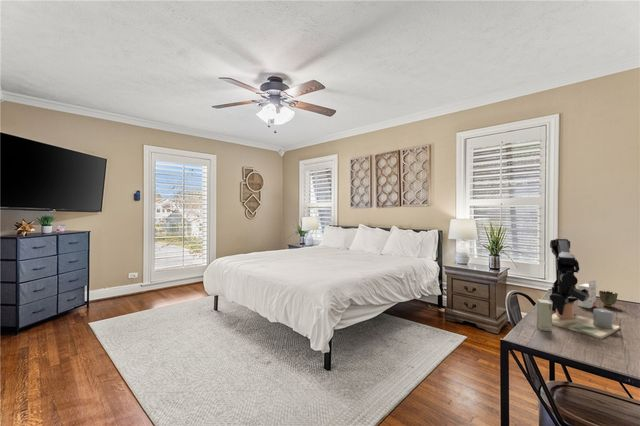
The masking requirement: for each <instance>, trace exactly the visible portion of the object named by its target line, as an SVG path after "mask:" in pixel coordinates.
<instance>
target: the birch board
mask: <svg viewBox="0 0 640 426" xmlns="http://www.w3.org/2000/svg"><path fill="white" fill-rule="evenodd" d="M552 325H553V326H556V327H560V328H564V329H566V330H570V331H573V332H577V333H580V334H584V335H587V336H589V337H594V338H597V339H600V340H604V339H605V338H606V337H608V336H609V335H612V334H614V333H615V332H617V331H619V330H620V329H621V326H619V325H615V324H613V329H603V328H599V327H596V326H594V325H593V318H588V317H585V316H581V315H577V314H574V316H573V318H572V319H568V318H563V317H559V316H557V315H556V312H555V313H552Z"/></svg>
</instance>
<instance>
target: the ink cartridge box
mask: <svg viewBox="0 0 640 426" xmlns="http://www.w3.org/2000/svg"><path fill="white" fill-rule="evenodd" d="M578 289H580V290H583V289H586V290H588V294H589V297H588V298H587V300H586V301H584V302H583V301H580V300H579V299H578V300H577V301H578V302H577V305H578V307H582V308H584V309H585V308H586V309H591V308H594V307H596V301H597V281H596V279H595V280H589V281H588V283H583V284H579V285H578Z"/></svg>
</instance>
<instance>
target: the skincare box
mask: <svg viewBox="0 0 640 426" xmlns="http://www.w3.org/2000/svg"><path fill="white" fill-rule="evenodd" d="M552 314H553V310H552V301H551V300H547V299H539V298H537V301H536V326H537V329H539V330H540V331H545V332H546V331H547V332H552V330H553V328H552V327H553V326H552V325H553V324H552Z"/></svg>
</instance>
